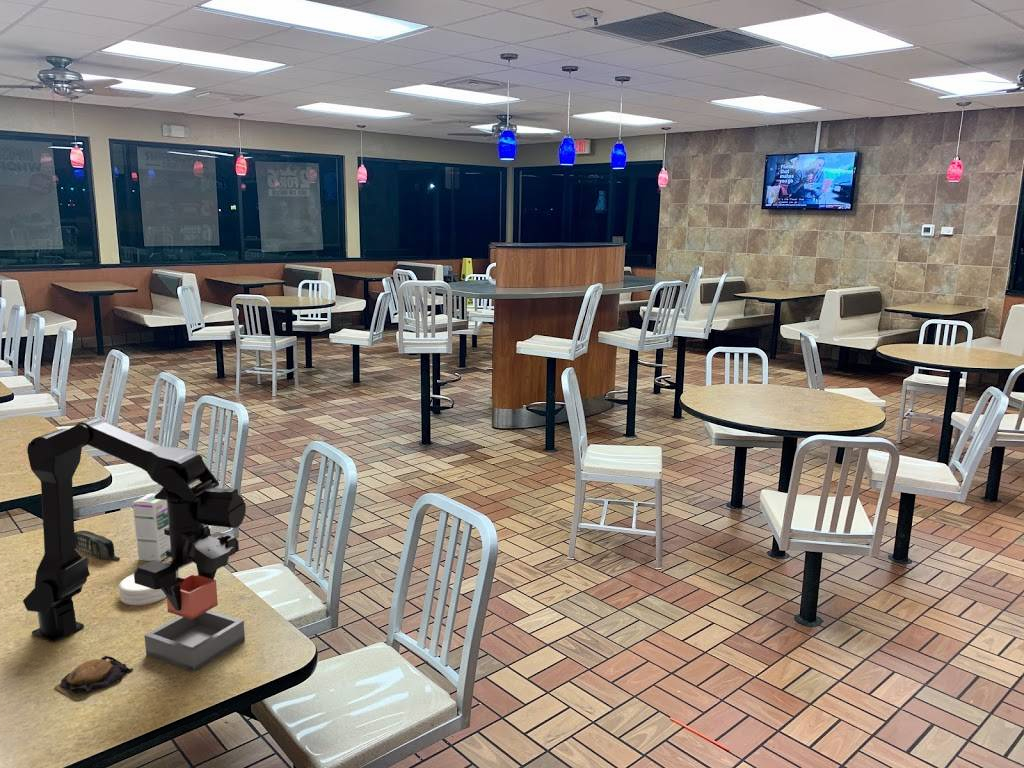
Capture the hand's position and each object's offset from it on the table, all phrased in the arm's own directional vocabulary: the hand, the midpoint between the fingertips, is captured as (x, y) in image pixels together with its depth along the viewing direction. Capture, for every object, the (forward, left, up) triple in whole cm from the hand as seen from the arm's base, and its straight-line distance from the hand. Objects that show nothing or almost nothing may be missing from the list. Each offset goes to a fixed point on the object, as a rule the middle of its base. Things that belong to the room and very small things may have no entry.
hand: (192, 602), depth 140 cm
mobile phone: (-53, +18, -9) cm, 57 cm away
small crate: (0, 0, -1) cm, 1 cm away
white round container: (-26, +10, -10) cm, 29 cm away
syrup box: (-40, +24, -9) cm, 48 cm away
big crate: (0, 0, -9) cm, 9 cm away
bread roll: (-7, -15, -10) cm, 19 cm away
